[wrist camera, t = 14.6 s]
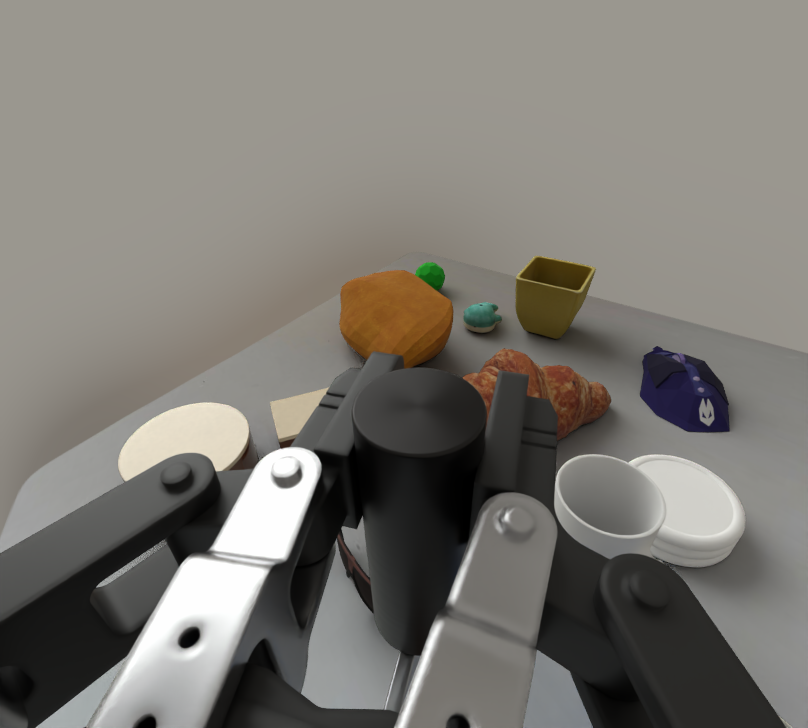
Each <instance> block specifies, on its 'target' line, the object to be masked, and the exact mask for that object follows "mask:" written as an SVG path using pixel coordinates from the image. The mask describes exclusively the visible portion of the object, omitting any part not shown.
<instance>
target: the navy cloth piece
mask: <svg viewBox="0 0 808 728" xmlns="http://www.w3.org/2000/svg"><path fill="white" fill-rule="evenodd" d="M652 350H653V351H652V352H650V353H648V354H646V355H644V359H643V361H642V362H643V369H644V374H643V380H642V386H641V392H640V397H641V398H642V399H643V400H644V401H645V402H646V403H647V405H648V406H649V407H650V408H651V409H652V410H653V412H654V413H655V414H656V415H658V416H660V417H662V418H663V419H665V420H667V421H669V422H671V423H673V424H675V425H677V426H679V427H681V428H682V429H684V430H686V431H693V432H724V431H729V414H728V405H729V403H728V400H727V397H726V394H725V390H724V387H723V384H722V382H721V381H720V380H719V379H718V378H717V377H716V375H715V374H714V373H713V372H712V370H711V369H710V368H709V366H708V365H707V364H706V363H705V361H702V360H699V359H696V358H693V357H690V356H688V355H685V354H684V355H683V354H681V353H673V352H669V351H665V350H663V349H662V348H660V347H658V346H656V347H655V348H653V349H652Z"/></svg>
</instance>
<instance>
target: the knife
mask: <svg viewBox="0 0 808 728" xmlns="http://www.w3.org/2000/svg"><path fill="white" fill-rule="evenodd" d="M351 416H352V425H353V433H354V442H355V451H356V460H357V468H358V477H359V486H360V495H361V503H362V512H363V521H364V530H365V538H366V547H367V556H368V564H369V573H370V582H371V591H372V599H373V608H374V617H375V621H376V625H377V627H378V629H379V631H380V633H381V635H382V636H383V637H384V639H385V640H386V641H387V642H388V643H389V644H390V645H391V646H393V647H394V648H395V649H397V650H399V651H400V652H399V656H398V660H397V663H396V667H395V670H394V674H393V678H392V681H391V685H390V688H389V692H388V696H387V699H386V703H385V706H384V710H391V711H394V712H397V713H400V711H401V708H402V705H403V703H404V700H405V697H406V694H407V692H408V689H409V686H410V684H411V681H412V678H413V676H414V673H415V670H416V667H417V665H418V662H419V659H420V657H421V654H422V651H423V649H424V646H425V643H426V640H427V638H428V635H429V632H430V630H431V627H432V625H433V622H434V620H435V618H436V615H437V614H438V612H439V610H440V609H441V608H444V606H445V605H446V602H447V600H448V598H449V595H450V592H451V589H452V587H453V584H454V581H455V578H456V575H457V573H458V570H459V567H460V564H461V562H462V559H463V556H464V553H465V550H466V548H467V545H468V540H469V530H470V520H471V510H472V499H473V489H474V481H475V477H476V472H477V467H478V465H479V463H480V461H481V458H482V455H483V447H484V437H485V428H486V419H487V409H486V405H485V402H484V400H483V398H482V396H481V394H480V393H479V392H478V390H477V389H476V388H475V387H474V386H473V385H472V384H470V383H469V382H468V381H466V380H465V379H463V378H461V377H459V376H457V375H455V374H452V373H450V372H446V371H443V370H438V369H432V368H406V369H400V370H395V371H392V372H388V373H386V374H383V375H381V376H379V377H377V378H375V379H373V380H372V381H370V382H369V383H368V384H367V385H365V386H364V387H363V388H362V389H361V390H360V392H359V393H358V395H357V396H356V398H355V400H354V403H353V406H352V413H351Z"/></svg>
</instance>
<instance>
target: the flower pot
mask: <svg viewBox="0 0 808 728" xmlns="http://www.w3.org/2000/svg"><path fill="white" fill-rule="evenodd" d="M595 270H596V268H594V267H591V266H587V265H583V264H578V263H573V262H567V261H562V260H557V259H552V258H547V257H542V256H535V257H534V258H532V260H531V261H530V262H529V263H528V264H527V266H526V267H525V268H524V269H523V270H522V271H521V272H520V273H519V274H518V275H517V277H516V313H517V316H518V319H519V321H520V323H521V325H522V327H523V328H524V330H526V331H528V332H532V333H536V334H540V335H543V336H547V337H550V338H554V339H559V338H560V337H561V336H562V335H563V334H564V333H565V332H566V331H567V329H568V328H569V326H570V325H571V323H572V321H573V319H574V317H575V316H576V314H577V312H578V311H579V309H580V308H581V306H582V304H583V302H584V300H585V298H586V295H587V292H588V289H589V287H590V284H591V281H592V279H593V276H594V273H595Z"/></svg>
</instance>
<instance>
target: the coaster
mask: <svg viewBox="0 0 808 728" xmlns="http://www.w3.org/2000/svg"><path fill="white" fill-rule="evenodd" d="M628 463H630V464H632V465H633V466H635V467H637V468H638V469H640V470H641V471H643V472H644V473H645V474H646V475H648V476H649V477H650V478H651V479H652V480H653V481H654V483H655V484H656V485H657V486H658V488H659V489H660V491H661V493H662V495H663V497H664V500H665V503H666V517H665V520H664V522H663V524H662V526H661V527H660V529H659V532H658V534H657V536H656V538H655V540H654V542H653V543H652V545H651V547H650V552H651V554H652V555H653V556H655V557H656V558H659V559H661V560H663V561H666V562H669V563H672V564H675V565H680V566H685V567H706V566H710V565H713V564H716V563H718V562H720V561H722V560H724V559H725V558H726V557H727V556H728V555H729V554H730V553H731V551H732V549H733V548H734V546H735V545H736V544H737V542H738V540H739V539H740V537H741V536H742V535H743V532H744V530H745V524H746V518H745V512H744V508H743V506H742V504H741V502H740V500H739V498H738V497H737V495H736V494H735V492H734V491H733V490H732V489H731V488H730V487H729V486H728V485H727V484H726V483H725V482H724V481H723V480H722V479H721V478H719V477H718V476H717V475H715V474H714V473H713V472H711V471H709V470H708V469H706V468H704V467H703V466H701V465H699V464H696V463H694V462H692V461H689V460H686V459H683V458H679V457H675V456H669V455H645V456H641V457H638V458H635V459H633V460H631V461H630V462H628Z"/></svg>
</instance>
